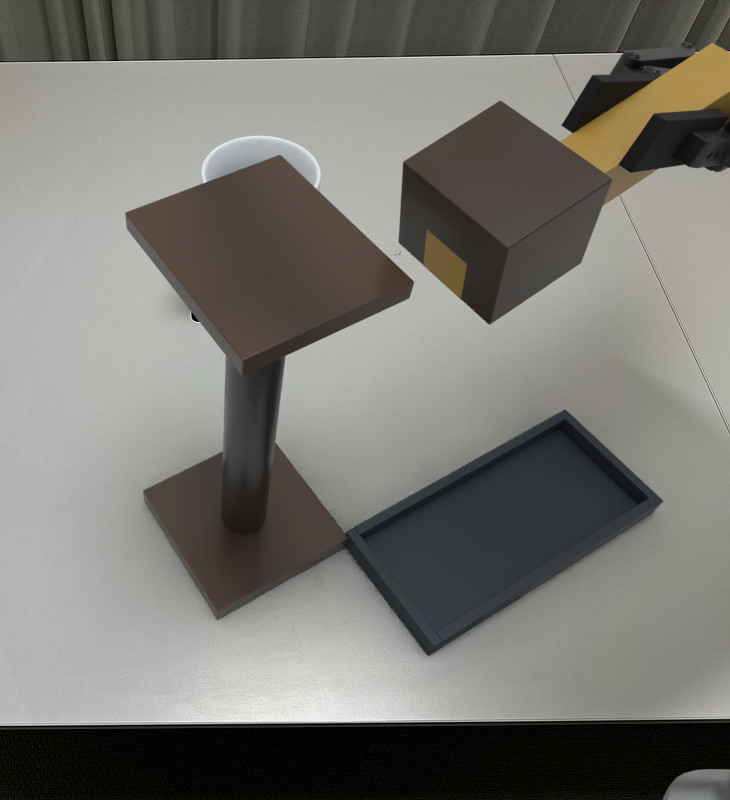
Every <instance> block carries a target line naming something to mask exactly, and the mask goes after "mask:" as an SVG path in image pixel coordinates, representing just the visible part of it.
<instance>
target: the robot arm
mask: <svg viewBox="0 0 730 800" xmlns="http://www.w3.org/2000/svg"><path fill="white" fill-rule="evenodd" d="M696 51H697V49H696V48H695V47H694V45H693V44H692V43H691V42H687V41H684V42H683V41H677V42H676V43H675V45H674V46H669V47H668V46H667V47H656V48H642V49H629V50H624V51H623V52H622V53H621V55H620V57H619V58H618V60H617V62H616V63H615V65H614V66H613V67H612V70H611V71H610V72H609V74H592V75H591V76H590V78H589V80H587V83H586V85H585V86H584V88H583V89H582V91H581V92H580V94H579V96H578V98H577V99H576V101H575V102H574V104H573V105H572V107H571V109H570V110H569V112H568V113H567V115H566V117H565V119H564V120H563V121H562V123H561V127H563V128H564V129H565V130H567V131H569V132H570V133H571V134H572V133H574V132H576V131H577V130H579V129H580V128H582V127H583V126H585V125H586V124H588V123H589V122H591V121H592V120H594V119H596V118H597V117H599V116H600V115H602V114H603V113H605V112H606V111H608V110H609V109H611V108H613V107H614V106H616V105H617V104H619V103H620V102H622V101H623V100H625V99H626V98H628V97H630V96H631V95H633V94H634V93H636V92H637V91H639V90H640V89H642V88H643V87H645V86H647V85H648V84H650V83H651V82H653V81H654V80H656V79H657V78H659V77H660V76H662V75H663V74H665V73H666V72H668V71H670V70H671V69H673V68H674V67H676V66H677V65H679V64H680V63H682V62H683V61H685V60H687V59H688V58H690V57H691V56H693V55H694V54H696V53H697V52H696ZM729 117H730V116H729V115H727V114H725V113H724V112H722V111H720V110H718V109H708V110H694V111H680V112H666V113H654V114H653V115H652V117H651V118H650V120H649V121H648V123H647V124H646V126H645V127H644V128H643V130H642V131H641V133H640V134H639V136H638V137H637V138H636V140H635V141H634V143H633V144H632V146H631V147H630V149H629V150H628V151H627V153H626V154H625V156H624V157H623V159H622V160H621V161H620V163H619V164H618V165H620V166H621V167H623V168H624V169H626V170H627V171H629V172H630V173H633V172H640V171H646V170H653V169H658V170H660V169H665V168H667V169H668V168H672V167H673V168H674V167H681V166H686V167H688V168H692V169H702V168H705V169H706V170H708V171H710V172H715V173H721V172H723V171H725V170H727V169H730V122H728V123H727V124H725V125H724V123H725V122H726V121H727V119H728V118H729ZM723 125H724V126H723ZM666 789H667V790H666V791H665V792H664V794H663V796H662V798H661V800H730V769H727V768H726V769H725V768H724V769H721V768H720V769H717V768H715V769H713V768H712V769H711V768H710V769H709V768H708V769H705V768H704V769H695V770H691V771H688V772H684V773H682V774H680V775H679V776H677V777H676V778H675V779H674V780H673V781H672V782H671V783H670V784H669V786H668V787H667V788H666Z"/></svg>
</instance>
